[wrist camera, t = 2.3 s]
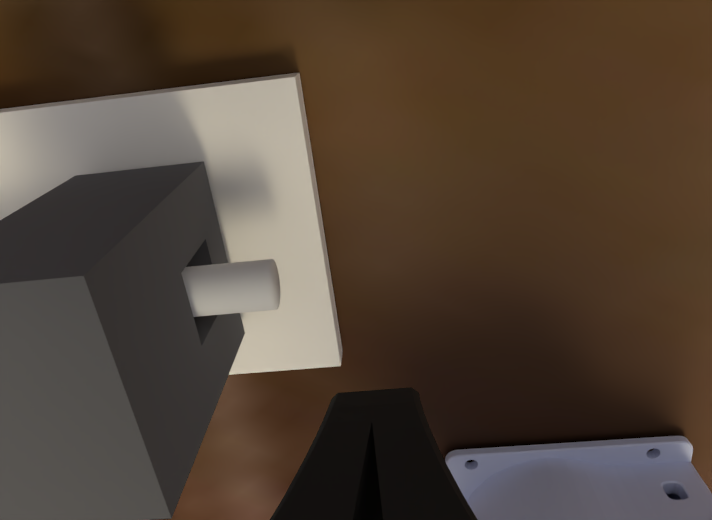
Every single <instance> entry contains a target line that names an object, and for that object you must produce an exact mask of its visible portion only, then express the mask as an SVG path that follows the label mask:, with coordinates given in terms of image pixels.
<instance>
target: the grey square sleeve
mask: <svg viewBox="0 0 712 520" xmlns="http://www.w3.org/2000/svg"><path fill="white" fill-rule="evenodd" d="M223 263H228V260H227V256H226V252H225V247H224V243H223V239H222V235H221V231H220V226H219V222H218V218H217V214H216V210H215V205H214V201H213V197H212V193H211V189H210V185H209V180H208V176H207V172H206V168H205V164H204V161H203V162H194V163H185V164H176V165H167V166H157V167H148V168H139V169H130V170H121V171H112V172H103V173H94V174H85V175H76V176H74V177H72V178H70V179H69V180H67V181H65V182H64V183H62V184H60V185H59V186H57V187H55V188H54V189H52V190H50V191H49V192H47V193H45V194H44V195H42V196H40V197H39V198H37V199H35V200H33V201H32V202H30V203H28V204H27V205H25V206H23V207H22V208H20V209H18V210H17V211H15V212H13V213H12V214H10V215H8V216H7V217H5V218H3V219H2V220H0V520H153V519H171V518H172V516H173V513H174V511H175V508H176V506H177V503H178V501H179V498H180V496H181V493H182V491H183V488H184V486H185V483H186V481H187V478H188V476H189V473H190V471H191V468H192V466H193V463H194V460H195V458H196V455H197V453H198V450H199V448H200V445H201V443H202V440H203V438H204V435H205V433H206V430H207V428H208V425H209V423H210V420H211V418H212V415H213V413H214V410H215V408H216V405H217V403H218V400H219V397H220V395H221V392H222V390H223V387H224V385H225V382H226V380H227V377H228V375H229V372H230V370H231V367H232V365H233V362H234V360H235V357H236V355H237V352H238V350H239V347H240V345H241V342H242V339H243V337H244V334H245V331H244V327H243V323H242V319H241V314H240V313H233V314H221V315H210V316H198V317H193V313H192V309H191V306H190V302H189V299H188V295H187V292H186V288H185V284H184V281H183V277H182V274H181V273H182V271H183V270H184V269H185V267H191V266H202V265H212V264H223Z"/></svg>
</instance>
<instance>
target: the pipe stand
mask: <svg viewBox="0 0 712 520" xmlns="http://www.w3.org/2000/svg"><path fill="white" fill-rule="evenodd" d="M203 161H204V164H205V168H206V172H207V176H208V180H209V185H210V189H211V193H212V197H213V201H214V205H215V210H216V214H217V218H218V222H219V226H220V231H221V235H222V239H223V243H224V247H225V252H226V256H227V260H228V263H223V264H212V265H202V266H191V267H185V269H184V270H183V271H182V273H181V274H182V277H183V281H184V284H185V288H186V292H187V295H188V299H189V302H190V306H191V309H192V313H193V317H198V316H210V315H221V314H233V313H240V314H241V319H242V323H243V327H244V331H245V334H244V337H243V339H242V342H241V345H240V347H239V350H238V352H237V355H236V357H235V360H234V362H233V365H232V367H231V370H230V372H229V375H232V374H245V373H258V372H271V371H283V370H296V369H309V368H322V367H335V366H341V361H342V351H343V349H342V343H341V337H340V330H339V324H338V317H337V311H336V304H335V298H334V292H333V285H332V279H331V272H330V266H329V259H328V253H327V246H326V240H325V234H324V227H323V221H322V214H321V208H320V201H319V195H318V189H317V182H316V176H315V169H314V163H313V156H312V150H311V144H310V137H309V131H308V124H307V118H306V111H305V105H304V98H303V92H302V86H301V79H300V73H290V74H282V75H274V76H266V77H258V78H250V79H241V80H233V81H225V82H217V83H209V84H201V85H193V86H184V87H176V88H168V89H160V90H152V91H144V92H135V93H127V94H119V95H111V96H103V97H95V98H86V99H78V100H70V101H62V102H54V103H46V104H38V105H29V106H21V107H13V108H5V109H0V220H2V219H3V218H5V217H7V216H8V215H10V214H12V213H13V212H15V211H17V210H18V209H20V208H22V207H23V206H25V205H27V204H28V203H30V202H32V201H33V200H35V199H37V198H39V197H40V196H42V195H44V194H45V193H47V192H49V191H50V190H52V189H54V188H55V187H57V186H59V185H60V184H62V183H64V182H65V181H67V180H69V179H70V178H72V177H74V176H76V175H85V174H94V173H103V172H112V171H121V170H130V169H139V168H148V167H157V166H167V165H176V164H185V163H194V162H203Z"/></svg>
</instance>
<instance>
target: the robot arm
mask: <svg viewBox="0 0 712 520" xmlns="http://www.w3.org/2000/svg"><path fill="white" fill-rule="evenodd" d="M654 448H655V449H654ZM650 449H653V450H652V451H649V450H650ZM692 453H693V446H692V445H691V443H690V442H689V441H688V439H687V438H685V437H683V436H664V437H648V438H633V439H617V440H601V441H585V442H570V443H554V444H538V445H523V446H507V447H491V448H475V449H460V450H453V451H451V452H449V453H448V454H447V455H446V458H445V460H444V458H443V456H442V454H441V452H440V450H439V448H438V446H437V444H436V441H435V439H434V437H433V435H432V432H431V430H430V428H429V425H428V423H427V420H426V417H425V414H424V412H423V408H422V405H421V401H420V397H419V393H418V392H417V391H416V390H414V389H413V388H399V389H385V390H372V391H359V392H346V393H337V394H336V395H335V396H334V397H333V398H332V400H331V402H330V405H329V408H328V410H327V412H326V415H325V417H324V420H323V422H322V424H321V426H320V428H319V431H318V433H317V435H316V437H315V439H314V441H313V443H312V445H311V447H310V449H309V451H308V453H307V455H306V457H305V459H304V461H303V463H302V465H301V466H300V468H299V470H298V472H297V474H296V476H295V477H294V479H293V481H292V483H291V485H290V487H289V488H288V490H287V492H286V494H285V496H284V497H283V499H282V501H281V503H280V504H279V506H278V508H277V509H276V511H275V512H274V514H273V516H272V517H271V519H270V520H712V493H711V492H710V490H709V489H708V487H707V486H706V484H705V483H704V481H703V480H702V478H701V477H700V475H699V474H698V472H697V471H696V469H695V468H694V466H693V465H692V463H691V459H692ZM468 460H475V461H473V462H467V461H468Z"/></svg>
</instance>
